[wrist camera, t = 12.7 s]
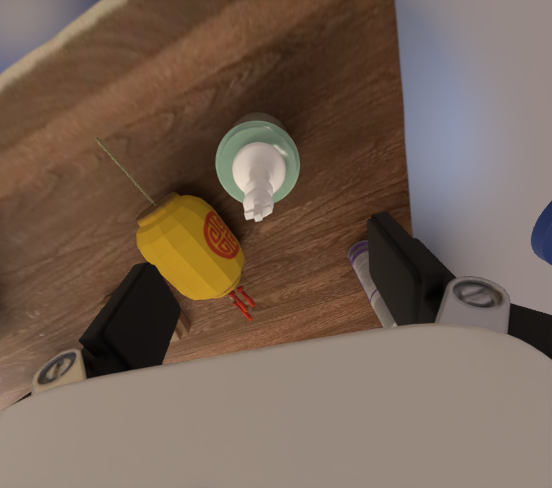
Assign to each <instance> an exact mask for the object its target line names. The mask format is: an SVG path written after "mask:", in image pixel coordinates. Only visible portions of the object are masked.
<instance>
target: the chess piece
mask: <svg viewBox="0 0 552 488" xmlns="http://www.w3.org/2000/svg"><path fill="white" fill-rule="evenodd" d="M232 172H233V177H234V180H235V182H236V184H237V186H238V187H239V188H240V189H241V190H242V191H243V192H244V193H245V198H244V201H243V207H244V210H245V211H244V215H245V218H246V220H249V219H252V218H254V219H255V221H256V222H258V221H261V220H263V217H266V216H267V215H269V214H270V213H272V209H273V206H274V202H273V198H272V196H273V193H275V192H276V191H277V190H278V189H279V188H280V187H281V185H282V184H283V182H284V179H285V175H286V165H285V161H284V158H283V156H282V155H281V153H280V152H279V151H278V150H277V149H276V148H275V147H273V146H272V145H270V144H267V143H263V142H254V143H250V144H248V145H246V146H244V147H243V148H241V149H240V150H239V151H238V153H237V154H236V156H235V158H234V161H233V165H232Z"/></svg>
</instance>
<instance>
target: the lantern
mask: <svg viewBox="0 0 552 488" xmlns="http://www.w3.org/2000/svg"><path fill="white" fill-rule="evenodd" d="M95 140H96V141H97V142H98V143H99V144H100V145H101V146H102V148H103V149H104V150H105V151H106V152H107V153H108V154H109V155H110V156H111V158H112V159H113V160H114V161H115V162H116V163H117V164H118V165H119V167H120V168H121V169H122V170H123V171H124V172H125V173H126V174H127V175H128V177H129V178H130V179H131V180H132V181H133V182H134V183H135V184H136V185H137V187H138V188H139V189H140V190H141V191H142V192H143V193H144V194H145V196H146V197H147V198H148V199H149V200H150V201H151V202H152V203H153V204H152V205H151V206H150V207H148V208H147V209H146V210H145V211H144V212H142V213H141V214H140V215H139V216H138V218H137V219H136V221H137V222H138V224H139V225H140V227H139V229H138V231H137V232H136V241H137V246H138V248H139V250H140V251H141V253H142V255H143V257H144V258H145V259H146V260H147V261H148V262H150V263H151V264H154V265H155V266H156V267H157V268H158V270H159V272H160V273H161V274H162V275H163V276H164V277H165V278H166V279H167V280H168V281H169V282H170V283H171V284H172V285H173V286H174V287H175V288H176V289H177V290H178V291H179V292H181V293H182V294H183V295H185V296H187V297H189V298H191V299H193V300H203V299H211V298H221V297H223V296H225V295H227V294H228V293H229V294H228V296H229V297H230V298H231V297H233V298H234V299H235V301H234V300H233V299H232V298H231V299H232V300H233V301H234V302H233V305H234V306H237V307H238V308H239V309H240V311H241V312H242V313H243V314H244V316H245V317H246V318H247V319H248V321H251V320H252V319H253V318H252V316H251V315H250V314H249V313H248V312H247V311H248V307H247V306H246V305H245V304H244V303H243V302H242V301H241V300H240V299H239V298H238V297H237V296H236V295H235V291H232V290H233V289H234V288H235V287H236V286H237V284H238V283H239V281H240V278H241V270H242V267H243V264H244V260H245V259H244V255H243V252H242V249H241V247H240V244H239V241H238V240H237V239H236V238H235V236H234V235H233V234H232V232H231V231H230V230H229V228H228V227H227V226H226V224H225V223H224V222H223V221H222V219H221V218H220V217H219V215H218V214H217V213H216V211H215V210H214V209H213V208H212V206H210V205H209V204H208V203H206V202H205V201H204V200H202V199H201V198H199V197H195V196H190V195H184V196H180V195H178V194H177V193H176V192H172V193H170V194H168V195H166V196H164V197H163V198H161V199H159V200H158V201H157V202H154V201H153V200H152V198H151V197H150V196H149V195H148V194H147V193H146V192H145V191H144V189H143V188H142V187H141V186H140V185H139V184H138V183H137V181H136V180H135V179H134V178H133V177H132V176H131V175H130V174H129V172H128V171H127V170H126V169H125V168H124V167H123V166H122V164H121V163H120V162H119V161H118V160H117V159H116V158H115V156H114V155H113V154H112V153H111V152H110V151H109V150H108V149H107V147H106V146H105V145H104V144H103V143H102V142H101V141H100V139H99V138H98V137H97V138H95ZM230 291H231V292H230ZM237 292H241V293H242V295H243V296H244V297H245V299H246V300H247V301H248V302H249V304H250V305H251V306H252V307H255V306H256V303H255V302H254V301H253V300H252V299H251V298H250V297H249V296H248V295H247V294H246V293H245V292H244V291H243V287H242V286H239V287H238V286H237Z"/></svg>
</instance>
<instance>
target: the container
mask: <svg viewBox="0 0 552 488" xmlns="http://www.w3.org/2000/svg"><path fill="white" fill-rule="evenodd" d="M348 259H349V261H350V263H351V265H352V267H353V269H354V271H355V273H356V275H357V277H358V279H359V281H360V283H361V285H362V287H363V289H364V291H365V293H366V295H367V297H368V299H369V301H370V303H371V305H372V307H373V309H374V310H375V312H376V314H377V316H378V318H379V320H380V322H381V323H382V325H383V327H384V328H387V327H395V326H397V324H396V323H395V321H394V319H393V317H392V315H391V313H390V312H389V310H388V308H387V306H386V304H385V302H384V301H383V299H382V297H381V295H380V293H379V291H378V290H377V288H376V286H375V284H374V282H373V280H372V279H371V276H370V273H369V255H368V240H363V241H359V242H357V243H355V244H354V245H352V246H351V248H350V249H349V251H348Z"/></svg>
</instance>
